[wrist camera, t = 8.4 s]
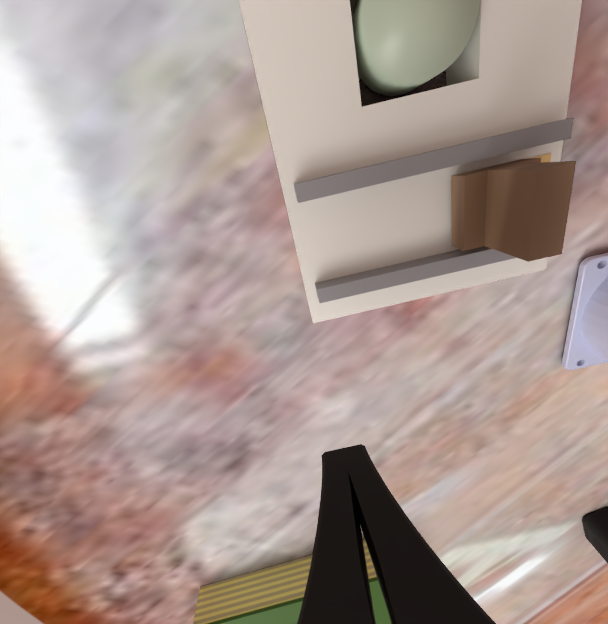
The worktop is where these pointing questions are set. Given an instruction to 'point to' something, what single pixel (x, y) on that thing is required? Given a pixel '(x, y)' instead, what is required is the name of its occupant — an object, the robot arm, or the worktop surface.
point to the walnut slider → (513, 207)
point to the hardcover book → (271, 595)
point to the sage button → (409, 40)
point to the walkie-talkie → (597, 530)
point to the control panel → (402, 145)
